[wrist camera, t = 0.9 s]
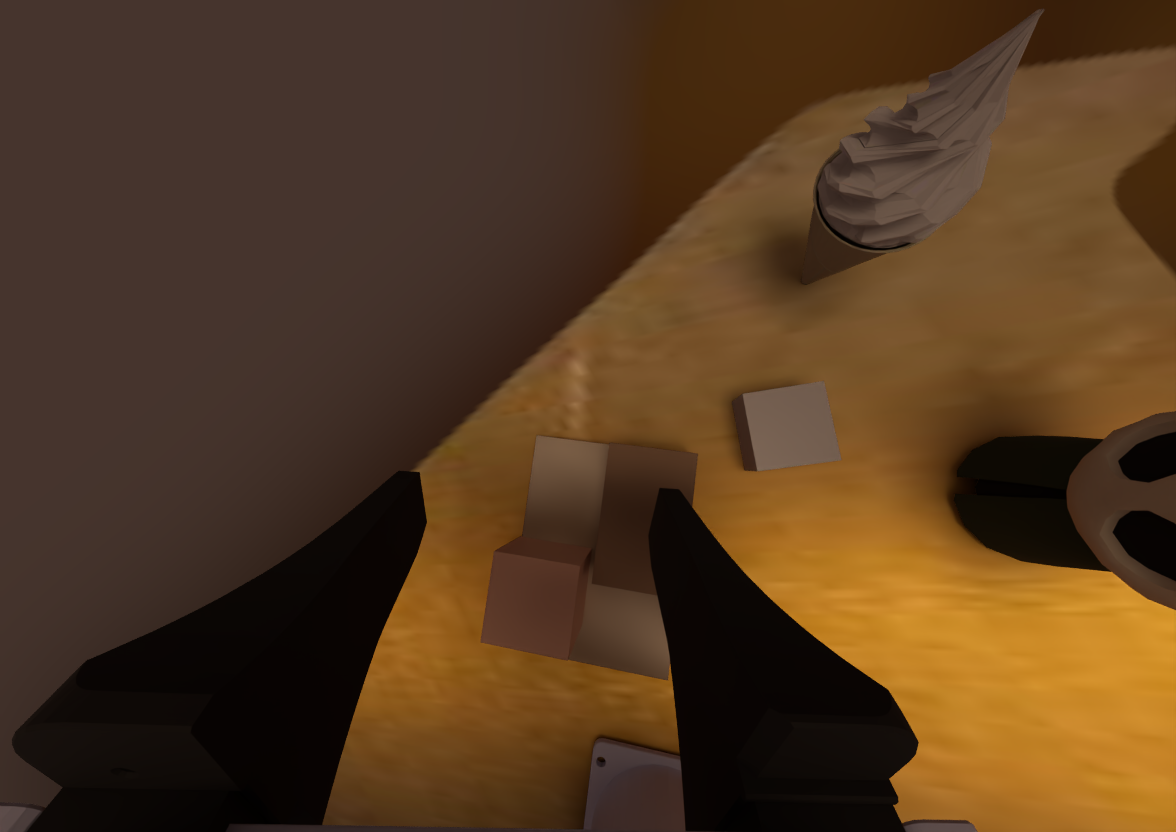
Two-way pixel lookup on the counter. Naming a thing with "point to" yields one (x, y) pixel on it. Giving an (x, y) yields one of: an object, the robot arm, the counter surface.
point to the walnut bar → (635, 511)
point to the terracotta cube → (536, 596)
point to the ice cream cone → (912, 162)
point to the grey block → (785, 427)
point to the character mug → (1082, 502)
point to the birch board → (593, 558)
